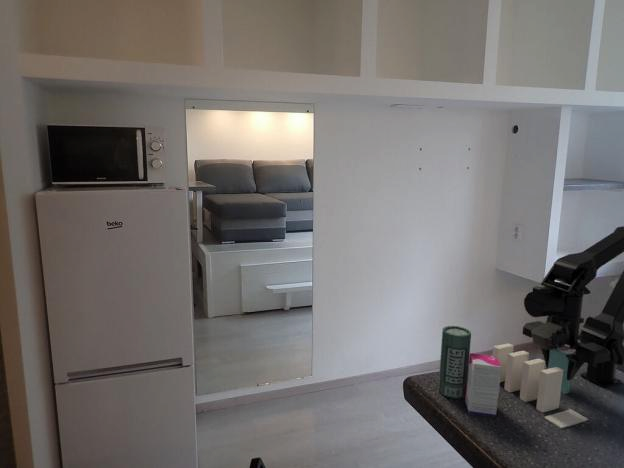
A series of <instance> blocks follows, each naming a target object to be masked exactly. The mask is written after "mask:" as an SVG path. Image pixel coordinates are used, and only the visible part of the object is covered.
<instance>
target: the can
mask: <svg viewBox="0 0 624 468" xmlns="http://www.w3.org/2000/svg"><path fill="white" fill-rule="evenodd" d="M441 333H442V334H441V346H440V361H439V362H440V363H439V374H438V375H439V376H438V388H439V389H438V393H440V395H442V396H445V395H446V396H445V397H447V396H448V397H451V398H450V399H456V400H457V399H462V398H465V396H466V387H467V378H468V368H469V359H470V352H471V351H470V350H471V340H472V332H471V330H469V329H468V328H465V327H462V326H458V325H448V326H444V327H442V332H441Z"/></svg>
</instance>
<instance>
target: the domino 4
mask: <svg viewBox="0 0 624 468" xmlns="http://www.w3.org/2000/svg"><path fill="white" fill-rule="evenodd" d="M562 377H563V370H562V369H560V368H558V367H554V368H550V369H547V368H546V369H545V370H541V371H540V380H539V389H538V398H537V399H536V407H535V409H536V410H538V411H539V412H541V413H545V412H549V411H553V410H556V409H559V408H560V402H561V393H562V392H561V385H562Z"/></svg>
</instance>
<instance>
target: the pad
mask: <svg viewBox="0 0 624 468" xmlns="http://www.w3.org/2000/svg"><path fill="white" fill-rule="evenodd" d="M544 419H545V420H546V421H548V422H549V423H551V424H553V425H555V426H557V427H558V428H560V429H561V430H562V429H564V428H568V427H571V426H575V425H577V424H580V423H581V424H582V423H584V422H587V421H589V419H588V418H587V417H585V416H583V415H582V414H580V413H579V412H576V411H575V410H573V409H571V408H570V409H567V410H564V411H560V412H555V413H553V414H550V415H549V414H548V415H545V416H544Z"/></svg>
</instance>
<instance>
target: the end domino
mask: <svg viewBox="0 0 624 468" xmlns="http://www.w3.org/2000/svg"><path fill="white" fill-rule="evenodd" d="M568 354H569V353H566V352H564V351H563V350H559V349H558V348H557V349H555V348H554V349H551V350H550V354H549V362H548V369H550V368H554V367H558V368H560V369H562V370H563V377H562V385H561V393H562V394H564V395H565V394H569V393H570V389H571V388H570V387H571V381H572V380H567V370H568V362H569V360H568V358H567V357H566V355H568Z"/></svg>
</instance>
